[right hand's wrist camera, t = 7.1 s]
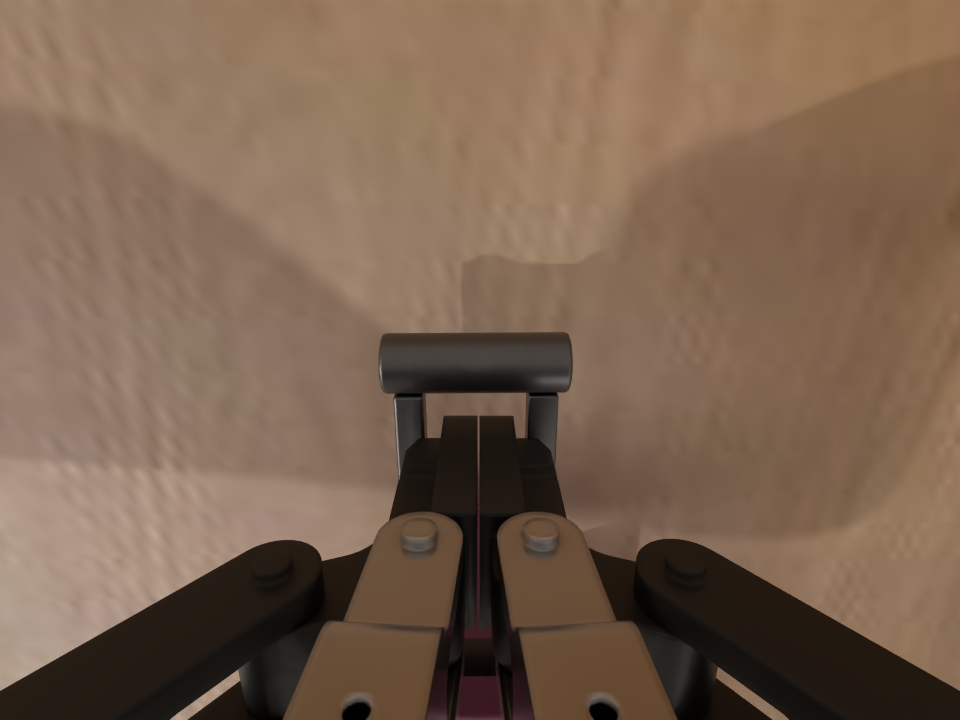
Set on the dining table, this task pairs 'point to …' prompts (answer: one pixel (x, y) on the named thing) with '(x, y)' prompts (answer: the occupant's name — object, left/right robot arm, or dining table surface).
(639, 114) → the dining table surface
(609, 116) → the dining table surface
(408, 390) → the drawer
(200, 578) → the right robot arm
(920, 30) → the dining table surface
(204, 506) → the dining table surface
